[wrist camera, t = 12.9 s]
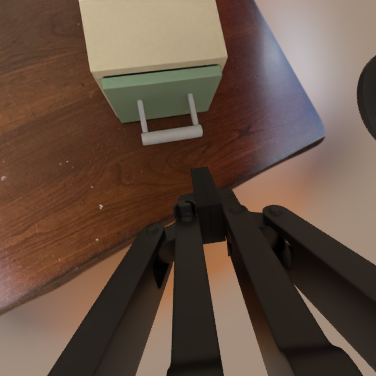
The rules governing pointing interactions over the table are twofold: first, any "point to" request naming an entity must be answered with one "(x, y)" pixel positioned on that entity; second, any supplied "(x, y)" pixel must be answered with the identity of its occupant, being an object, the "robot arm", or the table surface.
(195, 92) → the drawer
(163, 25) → the cabinet
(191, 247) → the robot arm
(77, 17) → the table surface
